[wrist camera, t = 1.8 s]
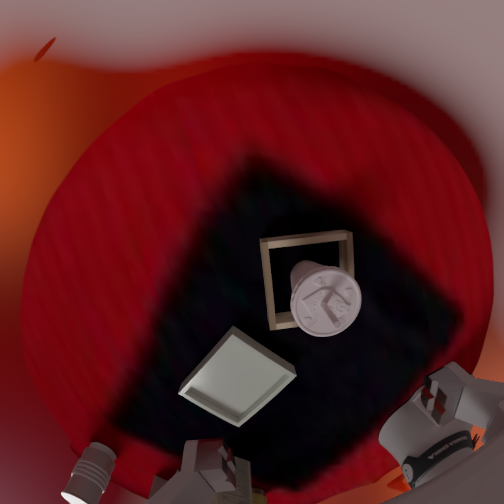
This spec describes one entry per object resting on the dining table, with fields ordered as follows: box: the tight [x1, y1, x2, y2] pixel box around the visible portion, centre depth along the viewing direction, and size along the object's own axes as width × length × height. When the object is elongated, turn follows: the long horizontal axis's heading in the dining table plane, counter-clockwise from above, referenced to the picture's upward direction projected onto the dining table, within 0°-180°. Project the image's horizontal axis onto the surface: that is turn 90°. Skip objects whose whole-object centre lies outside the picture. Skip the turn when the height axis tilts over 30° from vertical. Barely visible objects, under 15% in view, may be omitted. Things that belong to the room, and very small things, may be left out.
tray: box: [178, 326, 296, 427], centre depth 34 cm, size 12×10×2 cm
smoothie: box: [290, 260, 361, 337], centre depth 26 cm, size 6×6×14 cm
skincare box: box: [208, 456, 253, 504], centre depth 33 cm, size 6×4×12 cm
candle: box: [61, 442, 116, 504], centre depth 31 cm, size 7×7×15 cm
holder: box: [260, 230, 354, 330], centre depth 31 cm, size 10×10×3 cm
